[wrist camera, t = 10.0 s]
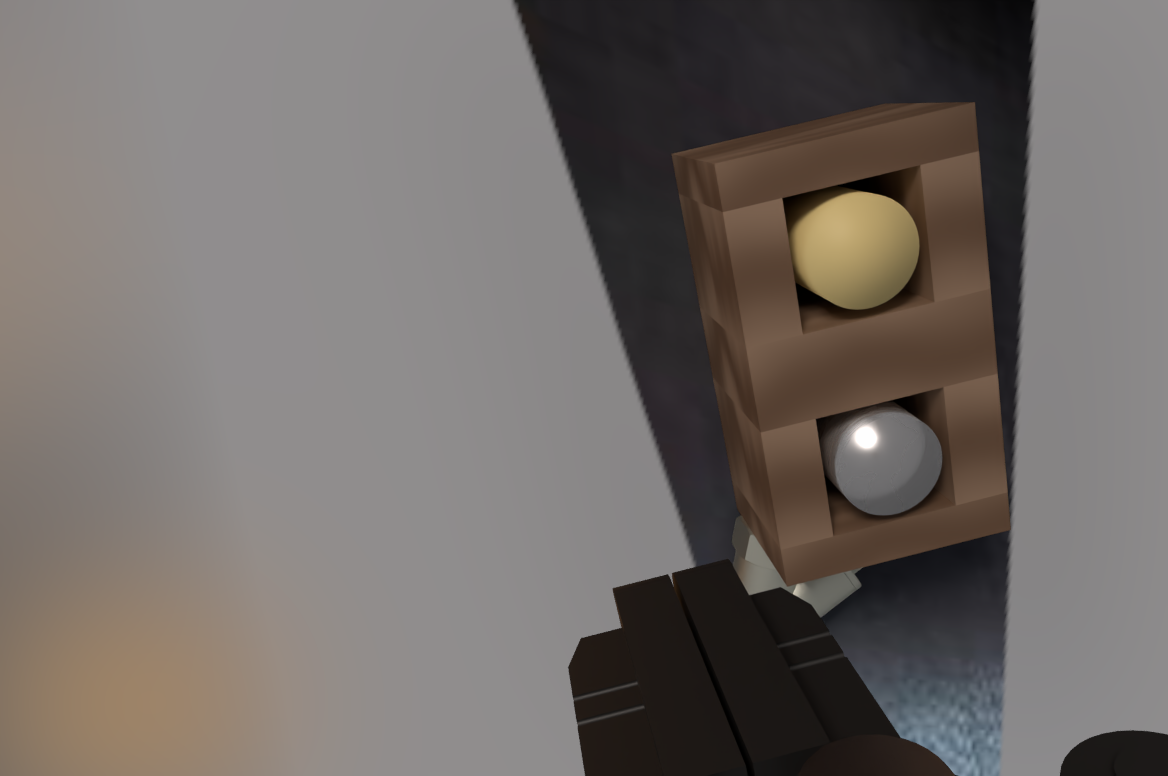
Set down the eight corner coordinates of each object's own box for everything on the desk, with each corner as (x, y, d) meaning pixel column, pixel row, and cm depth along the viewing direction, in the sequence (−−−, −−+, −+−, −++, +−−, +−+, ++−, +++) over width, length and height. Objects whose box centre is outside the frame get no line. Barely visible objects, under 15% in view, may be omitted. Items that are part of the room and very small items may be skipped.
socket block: (671, 153, 41) (714, 163, 34) (884, 103, 42) (974, 102, 34) (737, 509, 47) (787, 586, 39) (925, 462, 47) (1010, 529, 40)
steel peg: (775, 378, 44) (831, 430, 37) (863, 356, 44) (936, 403, 37) (788, 461, 45) (846, 526, 38) (874, 439, 46) (947, 501, 38)
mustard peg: (744, 192, 41) (799, 209, 34) (838, 169, 42) (913, 181, 34) (760, 285, 43) (816, 321, 36) (851, 263, 43) (925, 294, 36)
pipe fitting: (850, 513, 48) (730, 507, 47) (887, 547, 45) (757, 541, 43) (819, 647, 51) (703, 644, 49) (851, 689, 47) (727, 688, 45)
